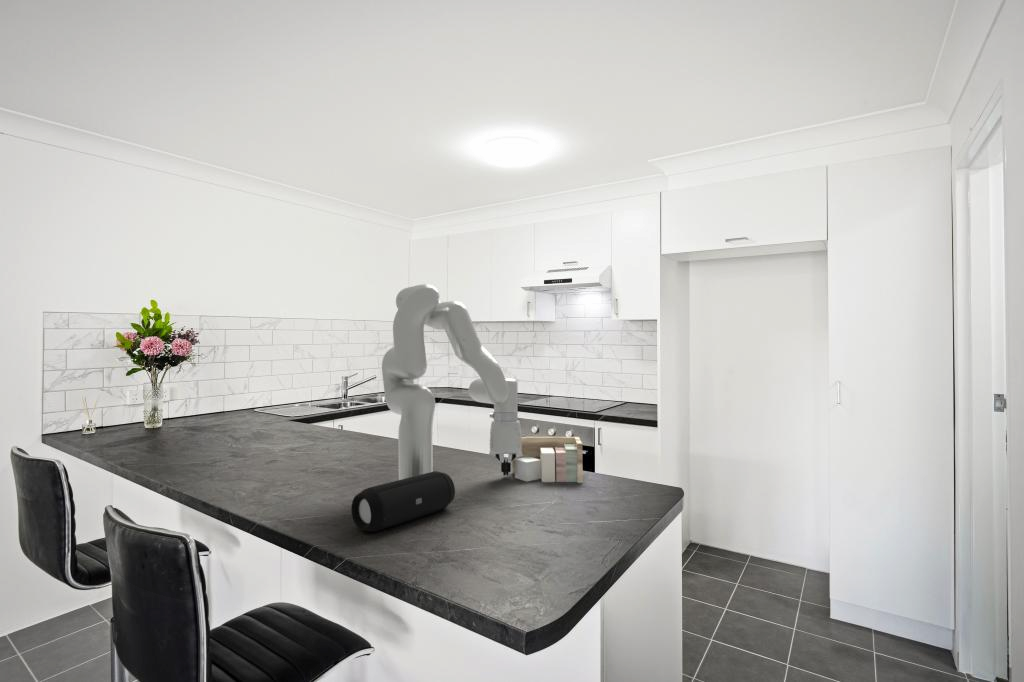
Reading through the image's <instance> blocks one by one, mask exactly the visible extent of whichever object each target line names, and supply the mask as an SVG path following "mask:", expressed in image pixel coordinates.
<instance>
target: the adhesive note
mask: <svg viewBox="0 0 1024 682" xmlns="http://www.w3.org/2000/svg"><path fill="white" fill-rule="evenodd" d="M514 478H515V479H518V480H521V481H524V482H527V483H528V482H531V481H536V480H537V481H538V480H542V479H541V460H540V459H536V458H533V457H525V458H519V459H515V474H514Z"/></svg>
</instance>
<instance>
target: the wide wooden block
mask: <svg viewBox="0 0 1024 682" xmlns="http://www.w3.org/2000/svg"><path fill="white" fill-rule="evenodd" d="M541 447H552V448H553V450H554V452H555V483H578V484H583V481H584V480H583V479H584V477H583V475H584V474H583V469H584V468H583V442H582V441H581V439H580V436H522V453H523V455H522V456H520V457H515V458H514V459H513V460H512V461H511V463H512V465H511V466H512V467H511V469H512V470H511V472H512V475H515V459H519V458H525V457H533V458H536V459H540V448H541Z"/></svg>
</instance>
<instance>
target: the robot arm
mask: <svg viewBox="0 0 1024 682" xmlns="http://www.w3.org/2000/svg"><path fill="white" fill-rule="evenodd" d="M395 298H396V299H395V305H396V308H397V310H396V313H395V315H394V319H393V325H392V335H393V336H392V337H393V347H391V348H389V349H388V350H387V351H386V352H385V354H384V355H383V358H382V363H381V373H382V383H383V390H384V399H385V403H386V405H387V407H388V409H389V410H390V411H391V412H392V413H394V414H396V415H398V416H399V415H400V421H399V425H398V434H397V439H398V440H397V441H398V480H402V479H406V478H410V477H414V476H418V475H421V474H425V473H429V472H434V471H433V469H434V468H433V464H434V463H433V459H434V458H433V457H434V455H433V423H434V416H435V410H436V409H435V408H436V399H435V395H434V393H433V391H432V390H431V389H430V388H428V387H427V386H425V385H422V384H419V383H418V384H417V383H415V380H417V379H420V378H422V377H423V376H424V375H425V373H426V372H427V367H428V366H427V365H428V363H427V354H426V346H425V335H424V334H425V333H424V329H425V326H428V327H429V328H430V327H431V328H433V329H436V330H442V331H443V330H444V331H445V333H446V335H447V338H448V340H449V343H450V345H451V347H452V350H453V352H454V354H455V356H456V357H457V358H458V359H459V360H460V361H462V362H463V363H464V364H466V365H467V366H469V367H470V368H471V369H473V370H474V371H475V372H476V374H477V375H478V376H479V377H480V378H476V379H474V380H473V381H472V382H471V383H470V385H469V386H468V396H470V398H471V399H472V400H474V401H475V402H477V403H481V404H482V403H483V404H490V405H493V412H492V413H489V418H492V419H493V420H492V421H491V424H490V431H489V453H488V455H489V457H493V458H496V459H497V460H498V461H499V462H500V464H501V465H500V472H501V473H502V475H503V476H507V477H508V476H509V473H511V472H512V470H511V469H512V467H511V466H512V465H511V463H512V460H513V459H514V458H515V457H520V456H522V455H523V453H522V437H523V435H522V427H521V426H522V425H521V421H520V420H518V419H519V417H518V415H519V414H518V413H519V412H518V381H517V380H516V379H515V378H511V377H509V378H508V377H507V378H506V377H505V373H504V372H503V370H502V368H501V366H500V364H499V363H498V362H497V361H496V359H495V358H494V356H492V354H491V353H490V352H489V351H488V350H487V349H486V348H485V347H484V345H483V344H482V342H481V340H480V338H479V336H478V332H477V330H476V327H475V326H474V323H473V321H472V318H471V316H470V313H469V311H468V309H467V307H466V305H465V304H464V303H462V302H460V301H456V300H450V301H449V300H448V301H440V292H439V290H438V289H437V288H436V287H435V286H434V285H432V284H428V283H427V284H425V283H424V284H418V285H414V286H413V285H412V286H408V287H405V288H403V289H401V290H400V291H399V292H398V293H397V295H396V297H395ZM505 455H508V457H507V458H506V459H505Z"/></svg>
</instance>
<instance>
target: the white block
mask: <svg viewBox="0 0 1024 682" xmlns="http://www.w3.org/2000/svg"><path fill="white" fill-rule="evenodd" d="M540 460H541V479H540V480H541V482H542V483H556V477H555V452H554V450H553V448H552V447H541V448H540Z"/></svg>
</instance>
